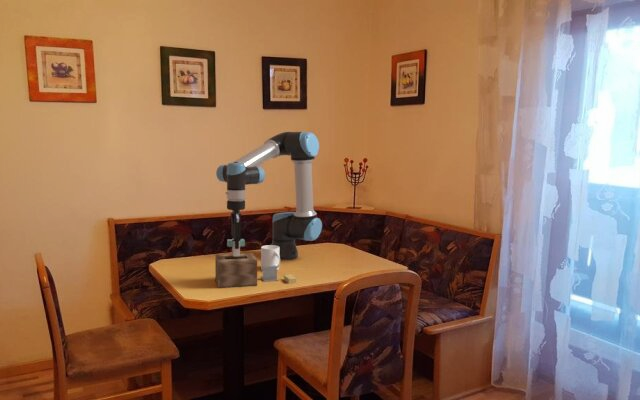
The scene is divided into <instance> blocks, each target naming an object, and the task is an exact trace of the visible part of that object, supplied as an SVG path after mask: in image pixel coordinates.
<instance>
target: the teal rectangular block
mask: <svg viewBox="0 0 640 400" xmlns="http://www.w3.org/2000/svg"><path fill="white" fill-rule="evenodd" d="M232 240H234V239H233V238H232V239H229V238H228V239H226V246H227V247H228V248H230V247H231V248H232V247H233V241H232ZM245 246H246V240H245V239H244V238H241V240H240V247H245Z"/></svg>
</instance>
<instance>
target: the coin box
mask: <svg viewBox="0 0 640 400" xmlns="http://www.w3.org/2000/svg"><path fill="white" fill-rule="evenodd" d="M214 255H215V258H214V260H215V265H214V266H215V268H214V269H215V282H216V286H217V288H218V289H227V288H230V289H231V288H243V287H244V288H245V287H256V286H257V287H258V258H257V257H256V256H255V255H254V253H253V252H250V253H240V256H233V254H232V253H226V254H214Z"/></svg>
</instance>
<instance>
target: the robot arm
mask: <svg viewBox="0 0 640 400" xmlns="http://www.w3.org/2000/svg"><path fill="white" fill-rule="evenodd" d="M319 150H320V141H319V139H318V138H317V136H316V135H315V134H314V133H313V132H307V131H283V132H281V133H278V134H276V135H274V136H272V137H270V138H268V139H266V140H265V141H264V142H263V144H261V146H259V147H257V148H255V149H254V150H251V151H250V152H248V153H246V154H245V155H243V156H241V157H240V158H238V159H236V160H235V161H233V162H229V163H227V164H222V165H219V166H218V167H217V169H216V178H217V179H218V181H220V182H223V183H226V192H225V195H226V199H227V201H226V209H227V210H230V211H232V213H230V218H231V220H230V222H231V234H230V235H231V238H232V239H234V240H232V241H233V247H231V254H233V256H240V254H241V246H240V240H241V239H242V238H241V236H242V233H241V231H242V229H241V228H242V213H240V211H243V210H245V209H246V201H245V199H246V185H258V184H261V183H263V182H264V181H265V178H266V173H265V170H264V168H262V167H261V165H262V164H264V163H266V162H268V161H269V160H271V159H275V158H276V159H277V158H278V157H280V156H290V161H291V162H293V164H294V165H293V166H294V184H295V185H294V186H295V188H294V189H295V205H296V206H295V207H296V208H295V209H296V210H295V211H287V212H285V211H284V212H278V213H274V214H273V215H272V223H271V224H272V226H271V227H272V243H271V245H275V246H279V247H280V252H279V256H280V260H281V261H282V260H284V261H285V260H293V259H294V260H295V259H296V258H298V257H299V251H298V248H297V244H296V240H302V241H305V242H306V241H311V242H312V241H316V240H317V239H318V238H319V237H320V234H321V233H322V228H323V222H322V220H321V219H320V217H319V218H318V213H317V212H316V211H315V210H314V193H313V192H314V190H313V189H314V187H313V166H312V164H313V162H314V161H315V158H316V156H317V155H318V154H319Z"/></svg>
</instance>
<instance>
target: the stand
mask: <svg viewBox="0 0 640 400" xmlns="http://www.w3.org/2000/svg"><path fill="white" fill-rule="evenodd" d="M260 278H261V279H262V281H263V282H273V281H275V282H276V281H277V282H278V281H279V278H278V270H277V266H263V270H262V276H261V277H260Z"/></svg>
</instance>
